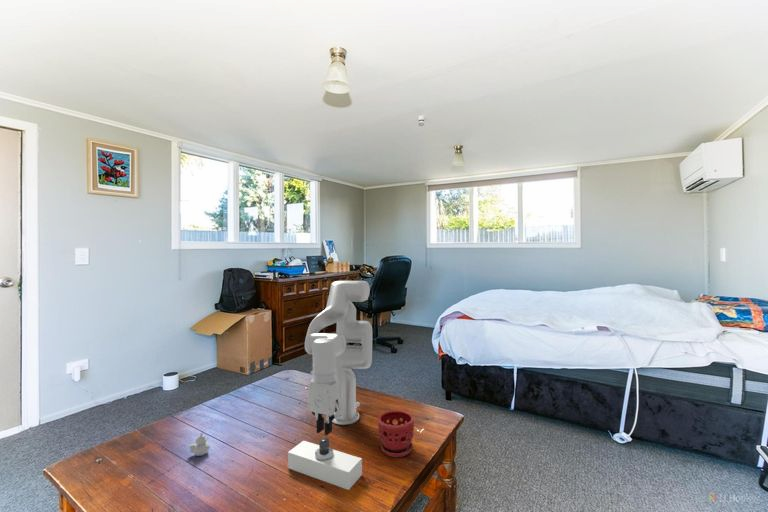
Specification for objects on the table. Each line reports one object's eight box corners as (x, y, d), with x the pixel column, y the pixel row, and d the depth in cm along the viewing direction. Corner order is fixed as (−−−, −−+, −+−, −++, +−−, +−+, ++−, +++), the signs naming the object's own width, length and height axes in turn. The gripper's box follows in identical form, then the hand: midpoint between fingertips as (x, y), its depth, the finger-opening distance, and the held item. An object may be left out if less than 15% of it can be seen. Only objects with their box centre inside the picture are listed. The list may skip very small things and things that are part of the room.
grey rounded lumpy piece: (207, 457, 122) (207, 435, 122) (186, 460, 120) (186, 437, 120) (211, 449, 127) (211, 427, 127) (191, 451, 125) (191, 429, 125)
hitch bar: (303, 455, 123) (303, 440, 123) (361, 474, 112) (361, 458, 112) (287, 468, 116) (287, 452, 116) (348, 490, 105) (348, 472, 105)
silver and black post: (322, 462, 118) (322, 433, 118) (336, 467, 115) (336, 437, 115) (311, 472, 112) (311, 442, 112) (326, 478, 110) (326, 447, 110)
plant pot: (417, 443, 130) (417, 412, 130) (408, 463, 118) (408, 428, 118) (384, 437, 135) (384, 407, 135) (372, 456, 122) (372, 422, 122)
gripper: (297, 376, 114) (297, 432, 114) (338, 384, 107) (338, 444, 107) (311, 369, 120) (311, 422, 121) (351, 377, 113) (351, 432, 113)
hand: (324, 431), depth 114 cm, fingers open, 2 cm apart
